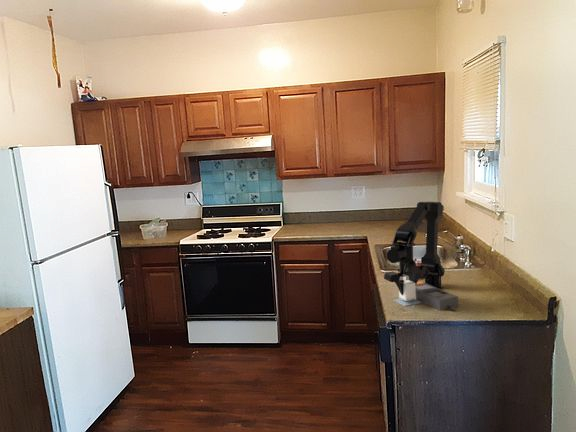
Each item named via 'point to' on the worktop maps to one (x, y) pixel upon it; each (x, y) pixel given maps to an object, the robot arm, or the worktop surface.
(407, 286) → the block
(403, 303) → the mat
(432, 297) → the gray recessed block
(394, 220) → the worktop surface
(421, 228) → the clothes iron
